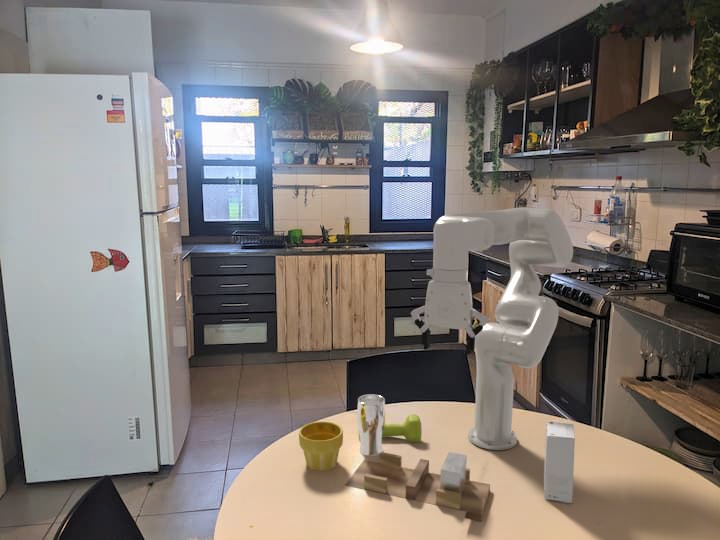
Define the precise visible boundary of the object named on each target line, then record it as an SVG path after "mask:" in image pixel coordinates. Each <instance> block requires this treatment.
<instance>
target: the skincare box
mask: <svg viewBox="0 0 720 540" xmlns="http://www.w3.org/2000/svg"><path fill="white" fill-rule="evenodd" d="M575 440H576V435H575V429H574V424H572V423H564V422H555V421H554V422H553V421H546V430H545V445H544V447H545V449H544V464H543V465H544V466H543V467H544V469H543V470H544V471H543V491H544V499H545V500H548V501H549V500H550V501H556V502H558V503H559V502H560V503H566V504H569V505H570V504H573V497H574V496H573V493H574V469H575V465H574V463H575V462H574V461H575V444H576V441H575Z"/></svg>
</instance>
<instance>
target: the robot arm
mask: <svg viewBox="0 0 720 540" xmlns="http://www.w3.org/2000/svg"><path fill="white" fill-rule="evenodd" d="M432 231H433V254H432V255H433V256H432V257H433V258H432V259H433V260H432V268H429V269H426V276H430V277H431V279H432V280H429V281H428V285H427V290H426V297H425V302H424V303H425V305H422V306H420V307H418V308H415V309H413V310H412V311H411V312H410V315H411V318H412V320H413V321H414V324H415V325H416V327H418V329H419V331H420V332H421V345H422V346H423V350H424V351H425V350H426V351H427V350H428V349H429V348H430V346H431V330H430V327H435V328H442V329H443V328H444V329H452V330H453V329H454V330H464V331H465V333H467V334H468V336H467V338H466V351H465V353H466V355H467V356H470V355H471V354H472V351H474V352H475V361H476V378H475V379H476V380H475V381H476V382H475V408H474V409H475V410H474V426H473V427H472V428H471V429H469V430H468V433H467V434H468V436H467V438H468V439H469V441H470V443H472V444H473V445H475V446H477V447H479V448H482V449H485V450H492V451H505V450H510V449H512V448H514V447H515V446H516V445H517V443H518V437H517V435H516V433H515V432H513V431H512V424H513V408H514V407H513V406H514V405H513V404H514V388H515V387H514V386H515V378H514V373H513V370H512V367H511V365H513V366H517V367H521V368H526V369H533V368H536V367H537V366H538V365H539V364H540V362H541V360H542V358H543V356H544V355H545V352H546V350H547V347H548V346H549V344H550V342H551V339H552V337H553V334H554V332H555V330H556V328H557V325H558V321H559V307H558V304H557V303H556V301H555V300H553V299H552V298H550V297H548V296H541V295H539V294H540V293H541V290H542V282H541V279H540V277H539V275H538V273H537V272H536V271H535V269H534V268H533V266H541V267H550V268H551V267H552V268H565V267H566V266H569V264H570V263H571V262H572V259H573V256H574V245H573V242H572V239H571V237H570V235H569V232H568V229H567V227H566V225H565V223H564V221H563V218H561V216H560V214H559V213H558V212H557V211H556V210H553V209H552V208H543V207H542V208H540V207H539V208H538V207H537V208H536V207H513V208H507V209H500V210H499V209H498V210H487V211H486V210H485V211H478V212H476V211H475V212H462V213H460V212H459V213H452V214H445V215H442V216H441V217H439V218H438V219H437V220H436V222H435V223H434V225H433V230H432ZM505 244H509V247H508V256H509V264H510V279H509V281H508V283H507V285H506V287H505V289H504V291H503V293H502V294H501V296H500V299H499V300H498V303H497V305H496V308H495V311H494V318H495V320H496V321H497V322H488V321H489V317H488V316H486V315H485V314H483V313H482V312H480V311H478V310H477V309H475V308H473V295H472V293H473V292H472V287H471V286H472V285H471V282H469V281H468V269H469V267H468V265H469V251H473V252H474V251H475V252H481V251H486V250H488V249H490V247H492V246H497V245H499V246H500V245H505ZM422 313H424V315H423V317H424V321H423V320H422V319H421V318H420V315H421V314H422ZM473 318H475V319H477V320H479V324H478V325H477V326H475V327H474V325H473V324H472V322H473Z"/></svg>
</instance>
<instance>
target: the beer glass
mask: <svg viewBox="0 0 720 540" xmlns="http://www.w3.org/2000/svg"><path fill="white" fill-rule="evenodd" d="M356 419H357V427H358V428H357V429H358V435H359V434H360V440H359V442H360V445H359V453H360V454H361V455H363V456H366V457H376V456H380V453H381V452H383V450H384V449H383V445H382V444H383V437H384V436H383V431H384V426H385V424H386V399H385V397H383V396H381V395H379V394H374V393H372V394H369V393H368V394H363V395H360V396H359V397H358V398H357V412H356Z"/></svg>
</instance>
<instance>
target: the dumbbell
mask: <svg viewBox="0 0 720 540" xmlns="http://www.w3.org/2000/svg"><path fill="white" fill-rule="evenodd" d="M422 430H423V429H422V421H421V417H420V416H419V415H418V414H409V415H408V416H407V417H406V419H405V421H404V422H403V423H401V424H400V423H385V426H384V431H383V436H382V437H400V436H401V437H402V436H403V437H404V438H405V439H406V440H407V442H410V443H420V442H421V441H422V435H423V434H422ZM358 440H359V441H360V434H359V433H358Z"/></svg>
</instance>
